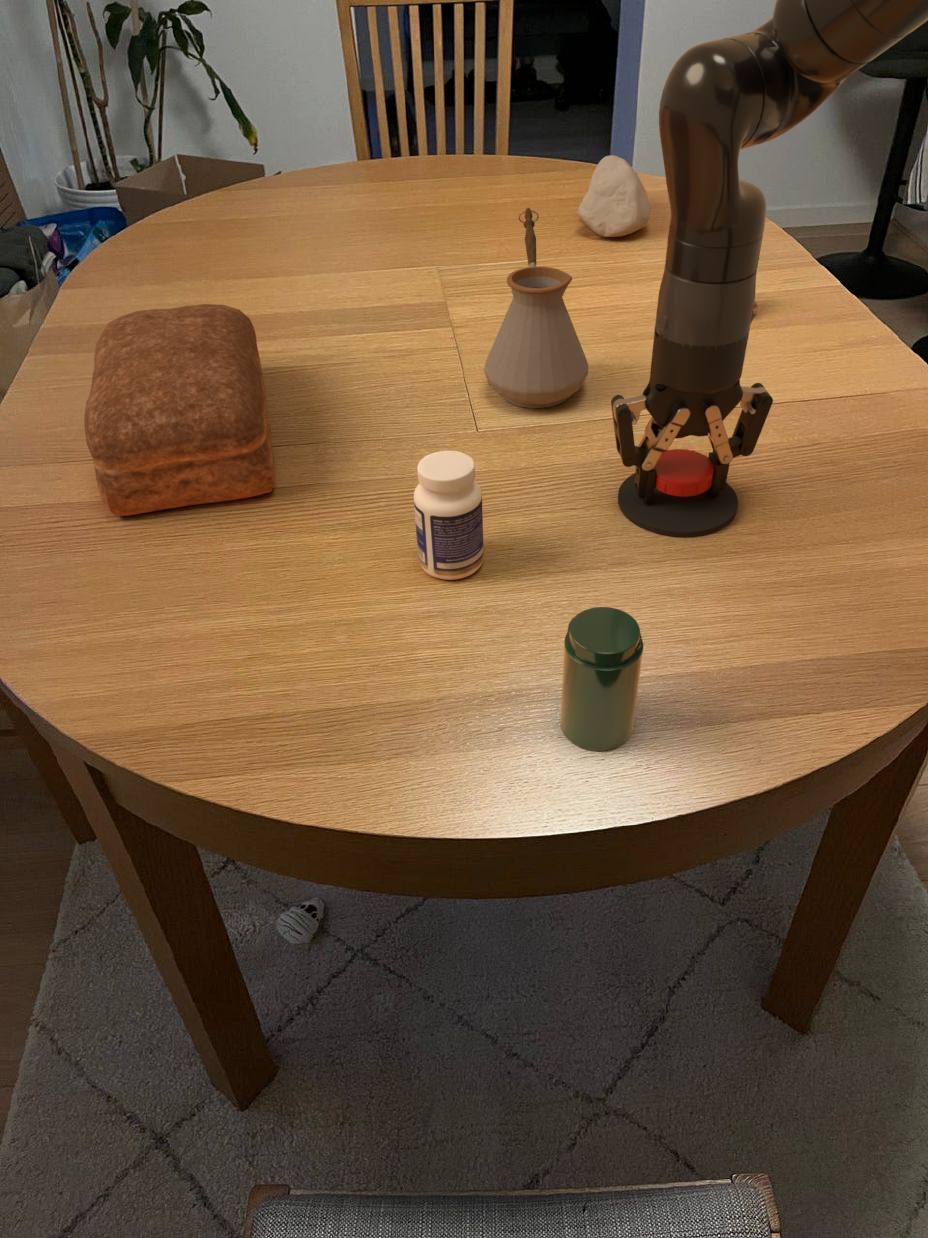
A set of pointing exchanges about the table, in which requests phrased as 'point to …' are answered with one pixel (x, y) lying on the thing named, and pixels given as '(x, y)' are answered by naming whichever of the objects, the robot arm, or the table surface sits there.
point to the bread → (178, 410)
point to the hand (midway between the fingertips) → (678, 495)
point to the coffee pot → (536, 337)
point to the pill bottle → (448, 515)
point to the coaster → (678, 511)
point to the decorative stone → (615, 199)
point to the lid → (683, 473)
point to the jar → (600, 678)
